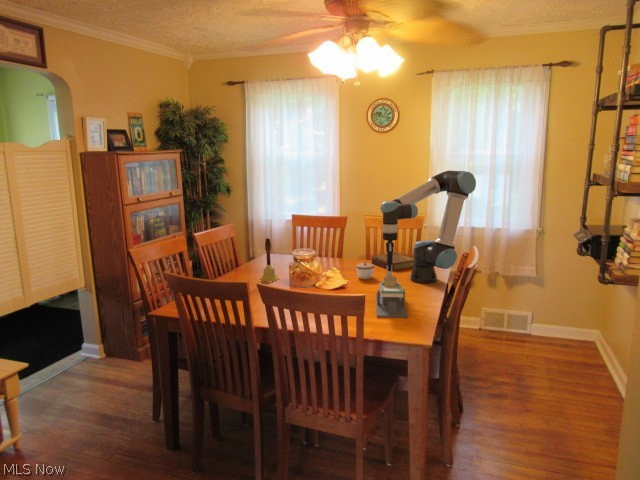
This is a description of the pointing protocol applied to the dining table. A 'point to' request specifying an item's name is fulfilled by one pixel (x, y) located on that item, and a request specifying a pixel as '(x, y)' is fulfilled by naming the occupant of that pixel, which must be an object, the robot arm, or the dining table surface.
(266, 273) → the handbell
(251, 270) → the dining table surface
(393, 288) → the seesaw beam
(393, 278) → the beige square block
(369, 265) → the lidded jar
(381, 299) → the seesaw stand
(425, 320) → the dining table surface
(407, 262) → the diary
